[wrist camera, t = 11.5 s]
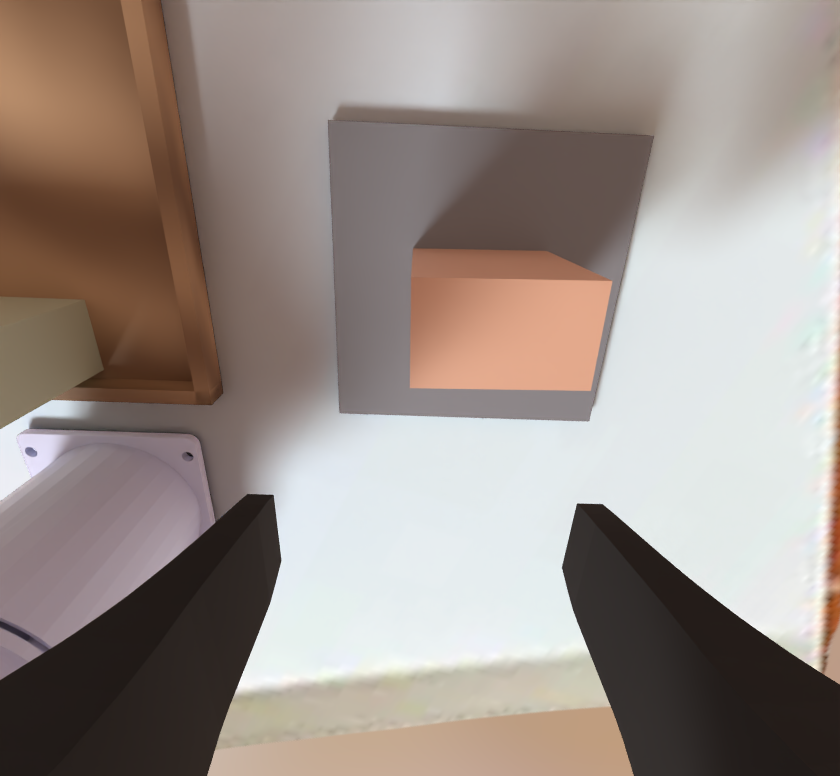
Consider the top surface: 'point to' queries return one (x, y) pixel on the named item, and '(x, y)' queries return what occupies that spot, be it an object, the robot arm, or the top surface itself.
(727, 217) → the top surface
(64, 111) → the wooden serving tray
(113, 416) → the top surface
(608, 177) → the mat
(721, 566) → the top surface
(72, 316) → the khaki rectangular block
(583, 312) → the salmon pink box
